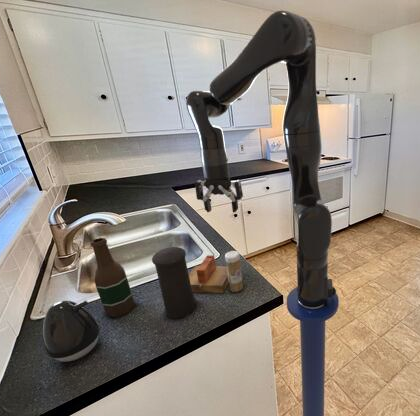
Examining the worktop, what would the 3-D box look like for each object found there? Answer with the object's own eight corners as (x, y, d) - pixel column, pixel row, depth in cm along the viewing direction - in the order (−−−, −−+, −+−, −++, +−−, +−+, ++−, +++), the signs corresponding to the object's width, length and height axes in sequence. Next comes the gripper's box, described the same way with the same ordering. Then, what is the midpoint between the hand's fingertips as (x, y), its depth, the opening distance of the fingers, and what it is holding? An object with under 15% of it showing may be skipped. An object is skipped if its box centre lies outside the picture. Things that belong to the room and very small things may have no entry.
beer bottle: (130, 315, 80) (107, 244, 71) (100, 320, 78) (73, 248, 69) (139, 298, 87) (119, 232, 78) (112, 302, 85) (88, 235, 76)
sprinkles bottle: (238, 293, 88) (233, 258, 84) (226, 290, 90) (221, 256, 85) (246, 285, 92) (242, 251, 87) (234, 282, 94) (230, 249, 89)
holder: (206, 283, 89) (204, 269, 87) (198, 282, 89) (196, 269, 87) (216, 267, 97) (214, 255, 95) (209, 267, 97) (207, 255, 96)
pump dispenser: (96, 361, 66) (76, 312, 60) (43, 375, 62) (17, 325, 57) (110, 330, 74) (93, 285, 69) (64, 341, 71) (43, 294, 66)
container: (199, 297, 87) (188, 243, 80) (192, 317, 79) (180, 259, 71) (170, 300, 86) (157, 245, 78) (161, 321, 77) (145, 262, 70)
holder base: (234, 271, 100) (233, 264, 99) (222, 295, 88) (220, 287, 87) (197, 270, 101) (196, 263, 100) (180, 294, 89) (178, 286, 87)
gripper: (186, 165, 78) (195, 215, 84) (234, 164, 78) (240, 216, 84) (197, 160, 85) (205, 207, 91) (241, 159, 85) (246, 207, 91)
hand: (222, 211), depth 87 cm, fingers open, 8 cm apart
